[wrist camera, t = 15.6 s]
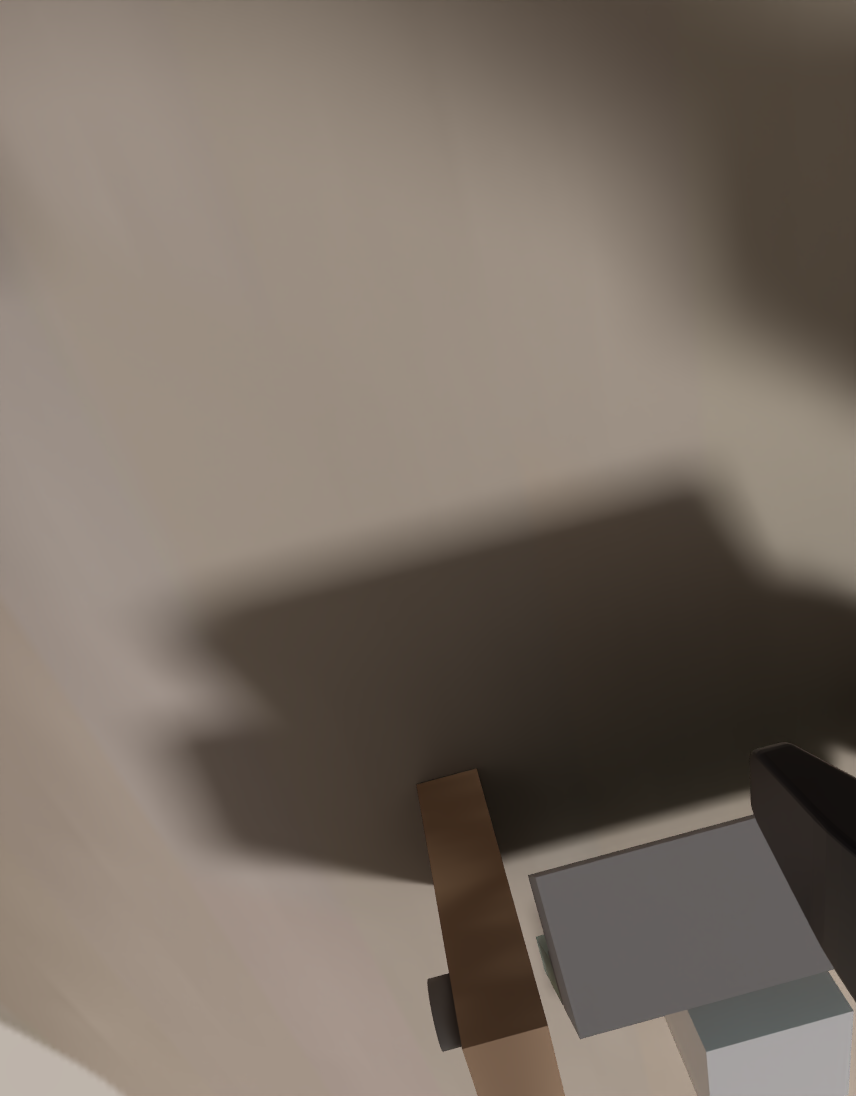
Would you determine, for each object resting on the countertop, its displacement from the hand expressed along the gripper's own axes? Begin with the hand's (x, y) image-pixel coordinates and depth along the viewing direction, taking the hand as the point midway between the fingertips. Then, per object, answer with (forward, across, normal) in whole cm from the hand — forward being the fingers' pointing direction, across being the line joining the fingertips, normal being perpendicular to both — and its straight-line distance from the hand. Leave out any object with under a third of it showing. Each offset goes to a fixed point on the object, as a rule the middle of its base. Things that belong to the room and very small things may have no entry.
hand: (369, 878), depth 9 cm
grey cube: (+8, -9, +23) cm, 26 cm away
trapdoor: (+9, -9, +11) cm, 17 cm away
